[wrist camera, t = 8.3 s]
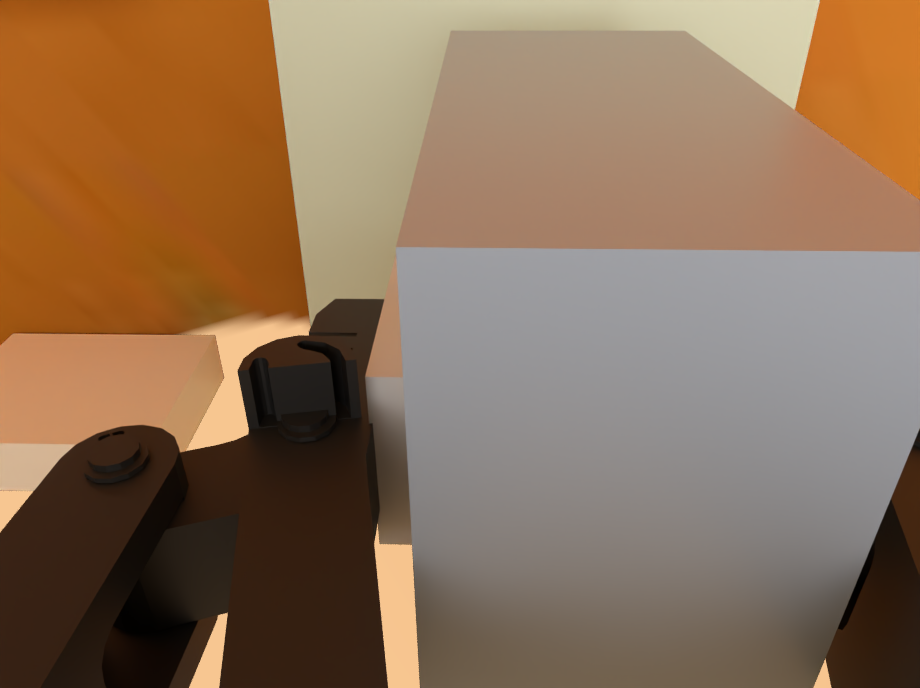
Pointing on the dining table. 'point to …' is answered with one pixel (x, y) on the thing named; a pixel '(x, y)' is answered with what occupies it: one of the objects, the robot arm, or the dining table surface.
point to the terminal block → (644, 368)
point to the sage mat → (412, 92)
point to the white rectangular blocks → (96, 393)
